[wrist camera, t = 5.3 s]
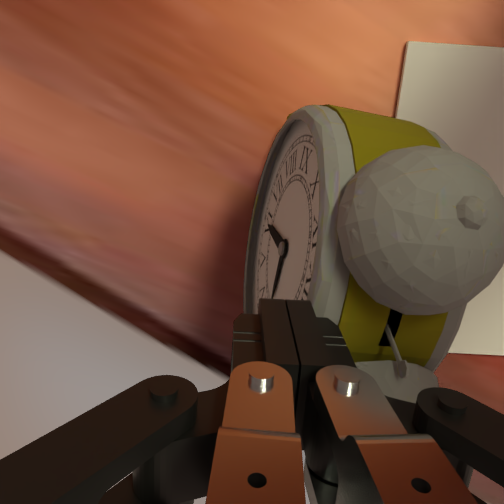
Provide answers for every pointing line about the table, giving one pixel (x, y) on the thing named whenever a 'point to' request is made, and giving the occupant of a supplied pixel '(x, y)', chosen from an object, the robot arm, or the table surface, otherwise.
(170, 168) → the table surface
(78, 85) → the table surface
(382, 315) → the alarm clock
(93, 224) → the table surface
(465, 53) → the white paper sheet
